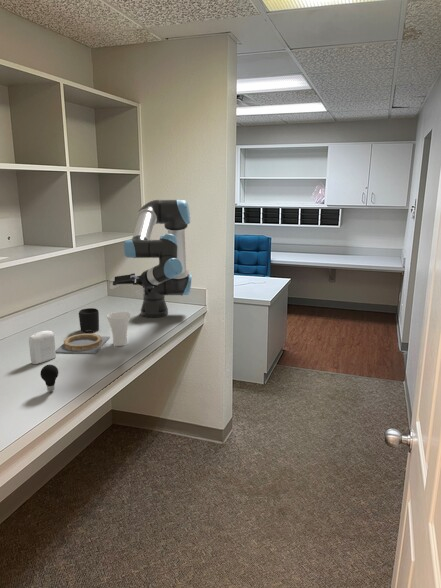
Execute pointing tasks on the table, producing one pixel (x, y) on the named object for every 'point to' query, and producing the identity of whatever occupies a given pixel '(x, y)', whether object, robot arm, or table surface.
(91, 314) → the pen holder
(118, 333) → the cup
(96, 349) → the collar mat
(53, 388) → the light bulb
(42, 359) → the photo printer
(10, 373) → the table surface
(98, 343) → the collar ring
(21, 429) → the table surface
